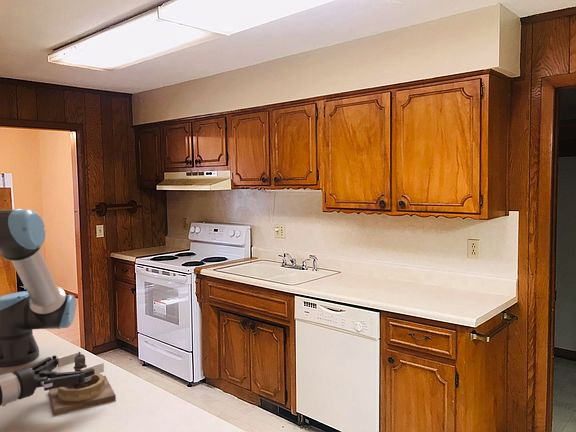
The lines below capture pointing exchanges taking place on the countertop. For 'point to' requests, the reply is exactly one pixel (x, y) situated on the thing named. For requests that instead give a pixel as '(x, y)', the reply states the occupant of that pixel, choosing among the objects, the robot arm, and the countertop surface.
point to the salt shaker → (78, 366)
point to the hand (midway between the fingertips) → (91, 361)
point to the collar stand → (82, 395)
